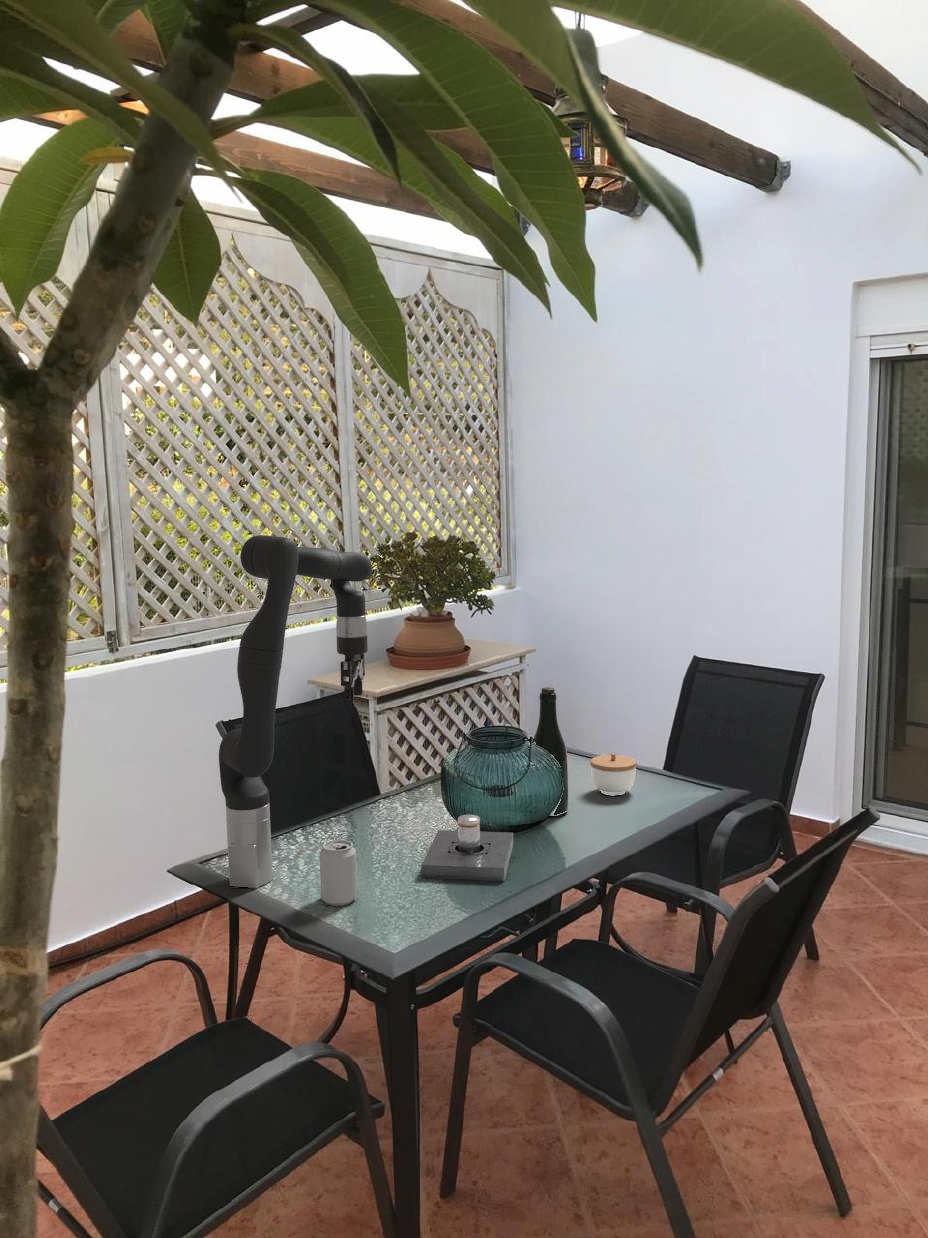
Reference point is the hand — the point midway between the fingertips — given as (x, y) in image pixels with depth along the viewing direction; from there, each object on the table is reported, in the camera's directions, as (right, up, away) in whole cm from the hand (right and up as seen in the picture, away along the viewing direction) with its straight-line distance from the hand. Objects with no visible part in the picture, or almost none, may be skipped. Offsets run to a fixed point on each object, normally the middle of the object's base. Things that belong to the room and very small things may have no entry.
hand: (353, 698), depth 239 cm
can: (+1, -39, -39) cm, 55 cm away
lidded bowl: (+69, -29, +30) cm, 80 cm away
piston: (+28, -35, -19) cm, 49 cm away
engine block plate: (+29, -35, -19) cm, 49 cm away
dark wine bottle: (+49, -31, +14) cm, 60 cm away
